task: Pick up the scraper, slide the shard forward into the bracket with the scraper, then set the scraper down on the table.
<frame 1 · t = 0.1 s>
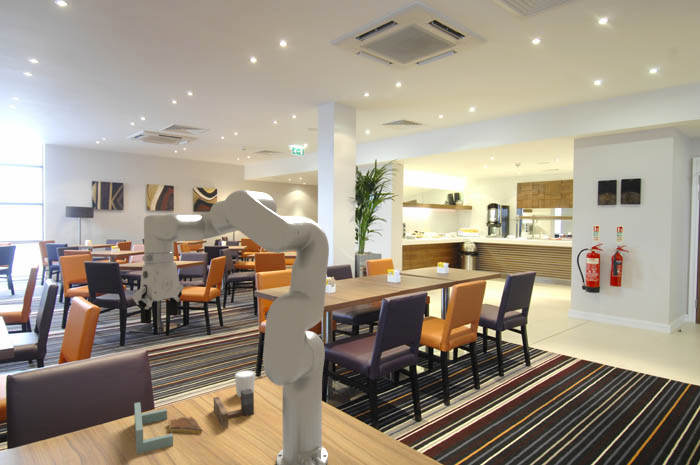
hand: (160, 319, 116), 31 cm above the table, tool pointing down, fingers open, 9 cm apart
scraper: (220, 418, 123), on the table
bracket: (157, 432, 114), on the table
shot glass: (245, 394, 140), on the table
shard: (188, 428, 118), on the table
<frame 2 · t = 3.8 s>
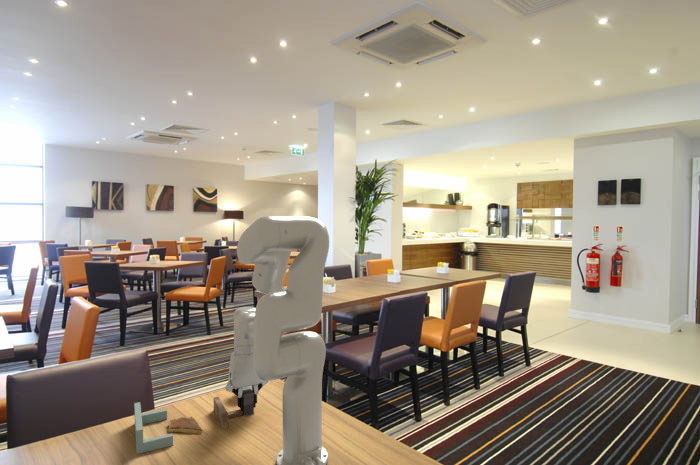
hand: (247, 406, 126), 2 cm above the table, tool pointing down, fingers closed on scraper, 3 cm apart
scraper: (220, 418, 123), on the table, touching gripper
everything else where it was.
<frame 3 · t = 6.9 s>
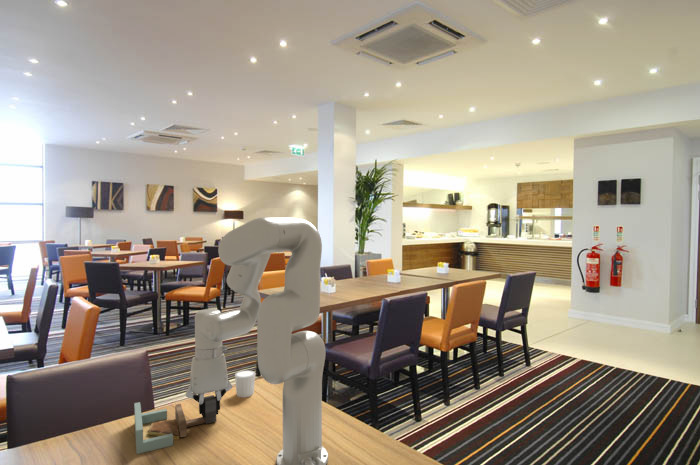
hand: (209, 413, 121), 2 cm above the table, tool pointing down, fingers closed on scraper, 3 cm apart
scraper: (180, 426, 117), on the table, touching gripper
shard: (170, 432, 116), on the table
everything else where it was.
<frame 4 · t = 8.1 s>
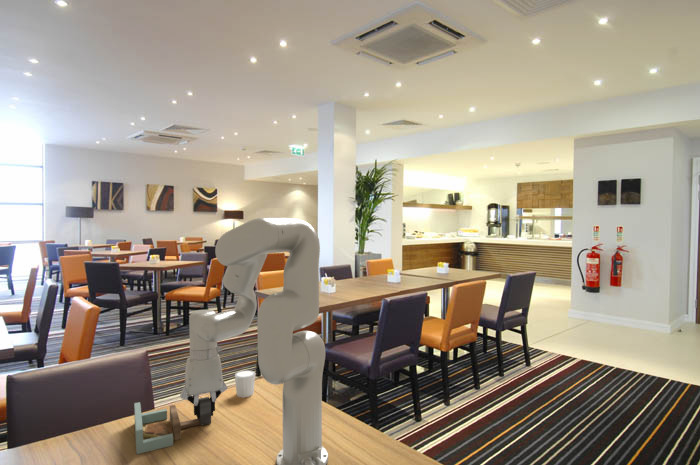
hand: (204, 414, 120), 2 cm above the table, tool pointing down, fingers closed on scraper, 3 cm apart
scraper: (175, 428, 116), on the table, touching gripper
shard: (164, 433, 115), on the table
everything else where it was.
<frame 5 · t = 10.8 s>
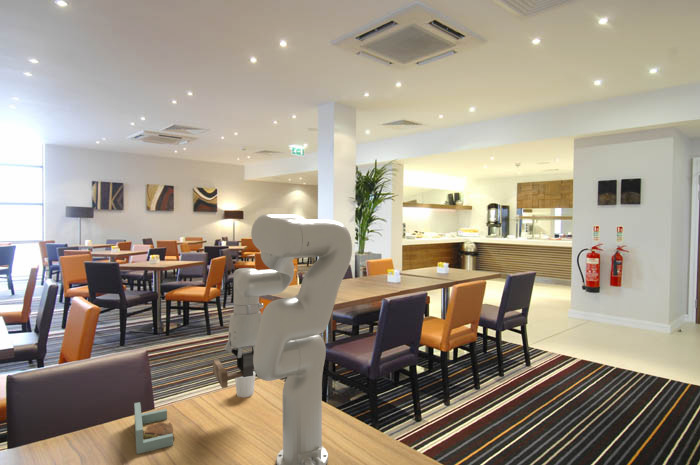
hand: (246, 367, 126), 14 cm above the table, tool pointing down, fingers closed on scraper, 3 cm apart
scraper: (220, 379, 122), point 12 cm above the table, touching gripper
everything else where it was.
when the fingers open (3 cm above the table, at t = 12.9 s): scraper stays where it is, on the table.
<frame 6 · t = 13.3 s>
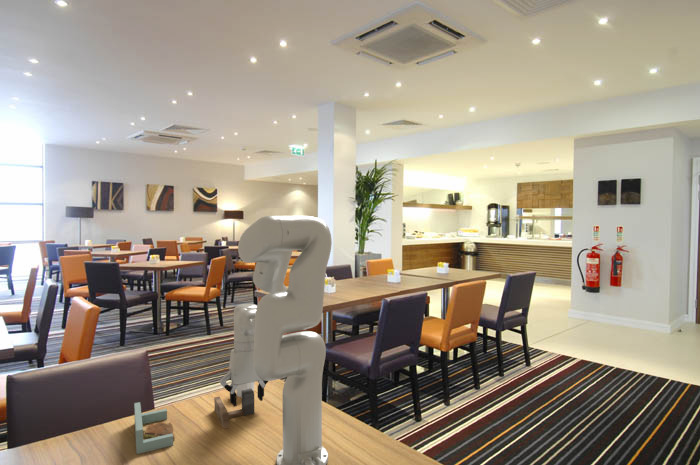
hand: (247, 401, 126), 3 cm above the table, tool pointing down, fingers open, 7 cm apart
scraper: (221, 418, 123), on the table
everything else where it was.
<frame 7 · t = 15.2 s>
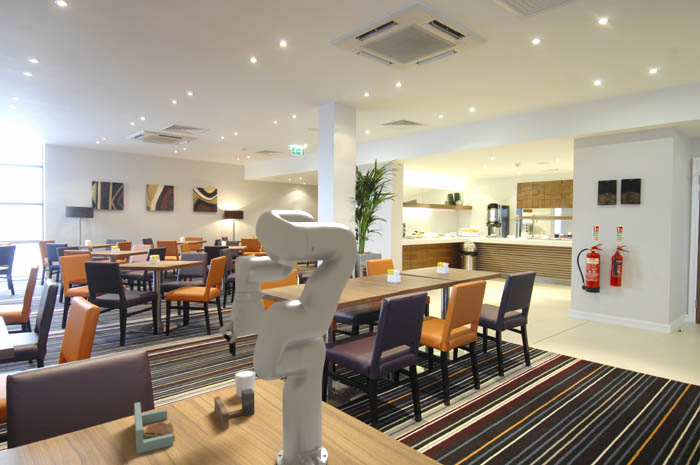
hand: (249, 352, 125), 19 cm above the table, tool pointing down, fingers open, 9 cm apart
nothing on the table moved.
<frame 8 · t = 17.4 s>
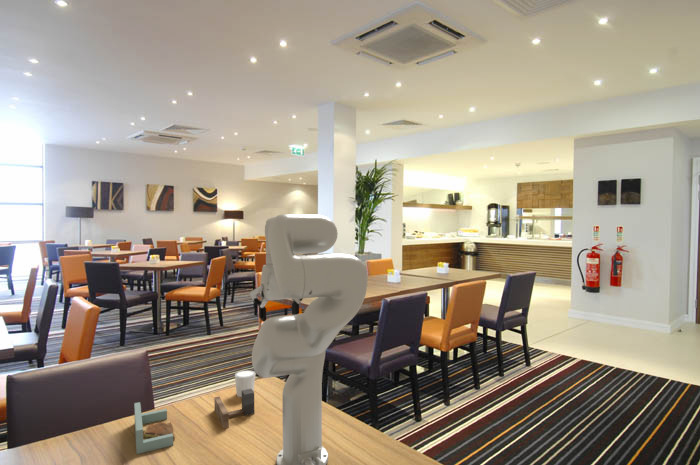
hand: (279, 318, 120), 30 cm above the table, tool pointing down, fingers open, 9 cm apart
nothing on the table moved.
at the end: shard 1.8 cm from the target spot, on the table; scraper inside the target area (0.2 cm from its centre), on the table; the gripper is holding nothing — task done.
